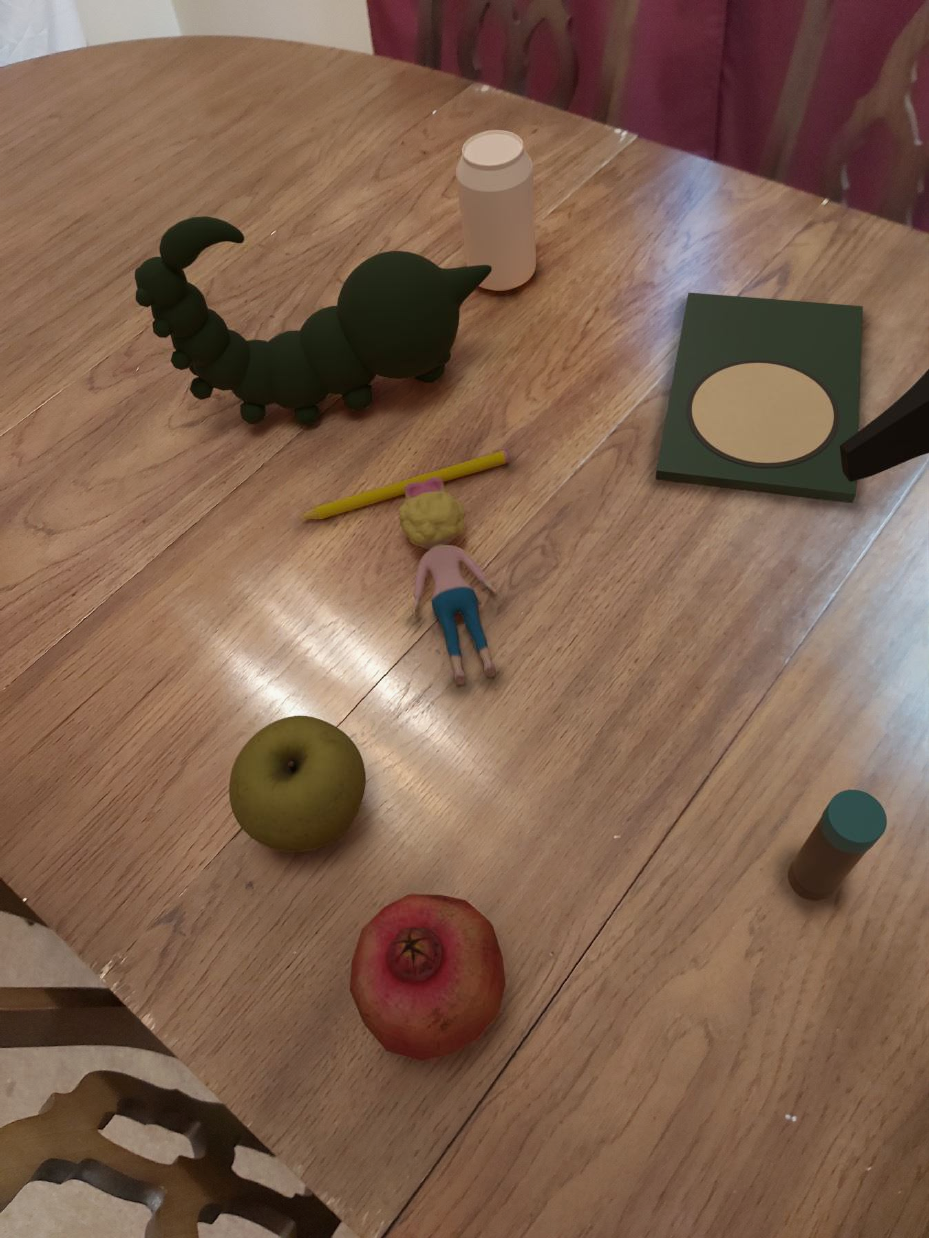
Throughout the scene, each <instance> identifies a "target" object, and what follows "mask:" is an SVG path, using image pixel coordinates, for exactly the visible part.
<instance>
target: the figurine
mask: <svg viewBox="0 0 929 1238" xmlns="http://www.w3.org/2000/svg"><path fill="white" fill-rule="evenodd" d="M404 496H405V500H404V502H403V504H401V506H400V508H399V510H398V520H399V525H400V527H401V529H402V532H403V534H404V535H405V536H406V537H407V538H408V541H409V542H410V543H411V544H413V545H414V546H416V547H418V546H419V547H420V546H421V547H422V548H423V549H426V550H427V551H426V552H425V553H424V554H423V556H422V558H421V559H420V560H419V562H418V567H417V569H416V572H415V573H416V574H415V578H414V589H413V598H414V602H413V605H412V615H413V617H416V616H417V614H418V613H417V612H418V610H419V606H420V602H421V600H422V598H423V593H424V589H425V585H426V577H427V573H430V575H431V577H432V581H433V586H434V587H433V592H432V596H431V606H432V611H433V614H434V616H435V617H436V620H437V621H438V622H439V624H440V626H441V629H442V631H443V635H444V641H445V644H446V649H447V653H448V655H449V658H450V661H451V663H452V667H453V671H454V680H455V683H456V685H458V686H462V685H464V684H465V683H466V674H465V672H464V670H463V667H462V659H463V656H462V651H461V647H460V638H459V631H458V626H457V622H456V614H459V613H460V614H461V616H462V618H463V619H462V620H463V622H464V626H465V628H466V630H467V632H468V634H469V635H470V638H471V639H472V641H473V643H474V646H475V650H476V653H477V654H478V656H479V657H480V658H481V661H482V662H483V671H484V673H485V676H486V677H487V678H489V679H490V678H492V677H493V678H494V676H495V674H496V668H495V666H494V664H493V662H492V659H491V655H490V650H489V645H488V642H487V638H486V637H487V636H486V635H485V631H484V629H483V626H482V623H481V620H480V615H479V614H480V613H479V600H478V597H477V594H476V591H475V588H474V587H472V586H471V585H470V584H469V583H468V582H467V581H466V580H465V579H464V577H463V574H462V570H461V564H463V565H464V566H465V567H466V568H467V569H468V570H469V571H470V573H471V574H472V575H473V576H474V577H475V579H477V580H478V581H479V583H480V584H482V585H483V586H485V587H486V589H487V590H488V591H489V592H490V593H491V594H492V595H493V596H494V597H497V596H498V593H497V590H496V588H495V587H494V585H493V584H491V583H490V582H489V581H488V578H487V576H486V574H485V573H484V572H483V570H482V569H481V567H480V566H479V564H478V563H477V562H476V561H475V560H474V559H473V558H472V557H471V556H470V555H469V554H468V553H467V552H466V550H464V549H462V548H460V547H459V546H456V545H454V544H451V543H452V542H453V541H454V539H456V538H457V537H459V536H461V535H462V534H463V533H464V531H465V530H466V529H465V528H466V523H465V521H464V519H465V517H466V509H465V506H464V505H463V503H462V502H461V501H459V500H457V499H455V498H454V497H453V496H452V494H451V493H450V492H449V491H447V490H446V489H445V484H444V482H443V481H442V479H441V478H440V477H434V478H430V479H428V480H426V481H425V482H421V483H420V482H414V483H409V484H407V485H406V486H405V494H404Z"/></svg>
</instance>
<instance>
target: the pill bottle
mask: <svg viewBox="0 0 929 1238" xmlns="http://www.w3.org/2000/svg"><path fill="white" fill-rule="evenodd" d="M887 818H888V817H887V814H886V811H885V809H884V807H883V805H882V804H881V802H880V801H879V800H878V799H877V798H876V797H874V796H873V795H872V794H870V793H869V792H866V791H863V790H859V789H846V790H842V791H840V792H839V791H838V793H836V794H835V795H834V796H832V798H831V800H830V801H829V802H828V804H827V806H826V807H825V809H824V810H823V811H822V814H821V817H819V820H818V822H817V823H816V825H815V826H814V828H813V829H812V831H811V832H810V834H809V835H808V837H807V839H806V840H805V841H804V843H803V844H802V846H801V848H800V849H799V850H798V853H797V854H796V855H795V857H794V859H793V860H792V862H791V863H790V865H789V867H788V872H787V877H788V882H789V884H790V886H791V888H792V889H793V890H794V892H795V893H796V894H797V895H799V896H800V897H802V898H804V899H806V900H808V901H815V902H818V901H823V900H826V899H827V898H829V897H831V895H832V894H833V893H834V892H835V890H836V889H837V888H838V886H840V884H841V883H843V881H844V880H845V878H846V877H847V876H848V875H849V874H850V873H851V871H852V870H853V869H854V868H855V866H856V865H857V864H858V863H859V862H860V861H861V859H862V858H863V857H864V856H865V854H866V853H868V851H869V850H871V848H873V847H874V845H875V844H876V843H877V842H878V841H879V840H880V839H881V837H882V836H883V835H884V833H885V832H886V829H887V825H888V819H887Z"/></svg>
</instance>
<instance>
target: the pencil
mask: <svg viewBox="0 0 929 1238" xmlns="http://www.w3.org/2000/svg"><path fill="white" fill-rule="evenodd" d="M509 462H510V460H509V455H508V452H507V450H506V449H503V450H500V451H496V452H493V453H490V454H487V455H483V456H480V457H476V458H473V459H471V460H470V459H469V460H467V461H464V462H460V463H456V464H454V465H450V466H447V467H443V468H440V469H437V470H433V471H430V472H427V473H424V474H421V475H420V474H419V475H417V476H414V477H410V478H408V479H407V478H406V479H404V480H401V481H398V482H394V483H390V484H388V485H385V486H381V487H378V488H374V489H371V490H367V491H364V492H360V493H357V494H354V495H351V496H348V497H344V498H341V499H338V500H334V501H331V502H327V503H324V504H320V505H318V506H317V505H316V506H314V507H313V508H312V509H310V510H309V511H307V512H306V513H305V514H303V515H301V516H300V517H299V518H298V519H300V520H323V519H326V518H329V517H332V516H336V515H340V514H343V513H346V512H350V511H352V510H355V509H359V508H362V507H366V506H368V505H372V504H376V503H379V502H382V501H385V500H389V499H392V498H396V497H399V496H402V495H405V486H406V485H407V484H409V483H414V482H420V483H421V482H425V481H426V480H428V479H430V478H434V477H440V478H441V479H442V481H443V483H445V482H448V481H451V480H454V479H455V480H456V479H458V478H461V477H465V476H468V475H471V474H475V473H478V472H483V471H486V470H489V469H491V468H495V467H498V466H502V465H505V464H507V463H509Z"/></svg>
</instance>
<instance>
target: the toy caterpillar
mask: <svg viewBox="0 0 929 1238" xmlns="http://www.w3.org/2000/svg"><path fill="white" fill-rule="evenodd" d="M244 241H245V235H244V233H243V232H242V231H241V230H240V229H239V228H238V227H236V226H234V225H233V224H231V223H229V222H228V221H226V220H223V219H220V218H216V217H211V216H207V215H205V216H193V217H189V218H186V219H183V220H179V221H178V222H176V223H175V224H174V225H172V226H171V227H169V228H168V229H167V230H166V231H165V232H164V233H163V234H162V236H161V239H160V243H159V247H158V248H159V249H158V250H159V256H152V257H149V258H148V259H145V260H144V261H142V263H141V264H140V266H138V267H136V268H135V270H134V281H135V285H136V290H135V301H136V303H137V304H138V305H139V306H140V307H145V308H149V307H150V310H151V314H152V318H153V321H152V323H151V324H152V330H153V331H152V332H153V334H154V335H156V337H158V338H161V339H168V338H169V336H170V340H171V343H172V347H173V349H174V350H175V351H172V354H171V358H170V363H171V364H172V366H173V368H175V369H177V370H179V371H184V370H189V372H191V374H192V375H194V376H196V377H195V378H192V380H191V383H190V386H189V391H190V393H191V394H192V396H193V397H194V398H195V399H198V400H200V401H203V400H206V399H209V398H211V396H212V394H213V391H214V389H217V390H219V391H222V392H227V391H231V392H232V394H233V395H234V396H235V397H236V398H237V399H239V400H240V401H242V402H241V404H239V412H240V418H241V420H243V421H244V422H245V423H246V424H248V425H258V424H260V423H261V422H263V421H264V420H265V419H266V414H267V412H266V406H270V405H272V404H275V405H277V406H279V407H281V408H283V409H287V410H291V411H293V417H294V418H295V420H296V421H297V422H298V423H299V424H300V425H301V426H307V427H310V426H312V425H314V424H316V423H317V421H318V418H319V416H320V414H321V412H320V408H319V406H318V405H319V404H321V403H323V402H324V401H325V400H326V399H327V398H328V396H329V395H336V396H341V398H342V402H343V405H344V406H345V407H346V408H348V409H350V410H351V411H353V412H355V413H356V412H364V411H365V410H366V409H368V408H369V407H370V406H371V405H372V404H373V402H374V398H373V397H374V396H373V395H374V394H373V386H372V385H371V384H370V383H372V381H374V380H375V378H376V377H377V376H379V377H381V378H386V379H394V380H403V379H411V378H414V379H415V380H416V381H418V382H420V383H423V384H434V383H435V382H437V381H440V379H441V378H442V377H443V376H444V374H445V372H446V364H448V363H450V361H451V358H452V357H451V356H452V354H451V353H452V352H451V351H452V348H453V346H454V344H455V342H456V341H455V340H456V338H457V334H458V331H459V326H460V315H461V314H460V313H461V312H460V309H461V306H462V304H464V303H465V301H466V300H467V299H468V298H469V297H470V295H472V293H473V292H475V290H476V289H477V288H478V287H480V286H479V285H480V284H481V283H482V282H483V281H484V280H485V279H486V277H487V276H488V275H489V274H490V273H491V271H492V268H491V266H489V265H476V266H460V267H450V268H445V267H443V268H442V267H441V266H438V264H436V263H435V262H434V261H432V260H430V259H428V258H427V257H425V256H424V255H423V256H422V255H420V254H417V253H414V252H411V251H405V250H403V251H402V250H390V251H384V252H380V253H376V254H374V255H372V256H370V257H368V258H367V259H365V260H364V261H362V262H361V263H360V264H358V266H356V267H355V268H354V269H353V270H352V271H351V272H350V274H349V275H348V276H347V277H346V279H345V281H344V282H343V285H342V287H341V288H340V291H339V295H338V298H337V302H336V303H337V304H336V305H329V306H326V307H323V308H320V309H318V310H316V311H315V312H314V313H312V314H311V315H310V316H309V317H308V318H306V320H305V321H304V323H303V324H302V325H301V327H300V329H299V330H297V329H295V330H287V331H285V332H281V333H278V334H277V335H275V336H273V337H272V338H271V339H270V340H268V341H267V340H262V339H249V340H247V339H246V338H244V336H243V335H241V334H240V333H239V332H237V331H235V330H233V329H229V327H228V326H227V323H226V322H225V319H223V317H222V316H221V315H220V314H218V313H217V312H216V311H215V310H213V309H212V308H209V307H208V304H207V301H206V298H205V295H204V294H203V293H202V292H201V290H200V289H199V288H198V287H197V286H196V285H195V284H193V283H192V282H189V281H188V279H187V275H186V273H185V270H184V269H186V268H188V267H189V266H191V265H193V263H195V261H196V260H197V258H199V256H200V254H201V253H202V252H203V251H205V250H207V248H210V247H212V246H214V245H217V244H219V243H225V242H229V243H234V244H242V243H244Z"/></svg>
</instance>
